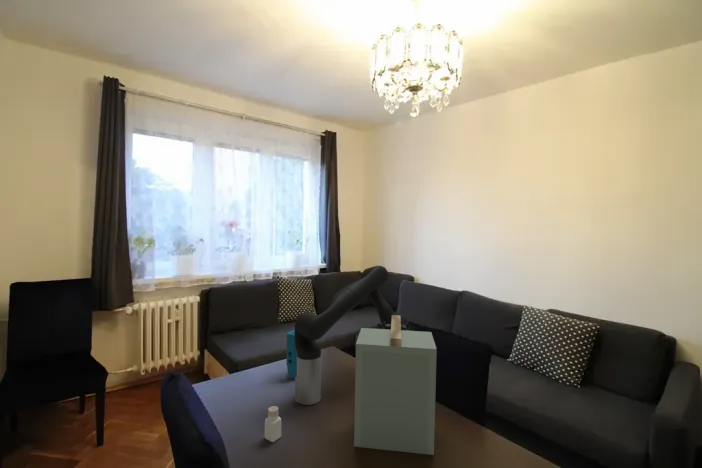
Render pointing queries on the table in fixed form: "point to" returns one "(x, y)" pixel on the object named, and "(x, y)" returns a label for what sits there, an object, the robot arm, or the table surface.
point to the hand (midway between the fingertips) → (395, 325)
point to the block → (291, 355)
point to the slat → (395, 331)
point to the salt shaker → (273, 425)
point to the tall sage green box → (395, 391)
